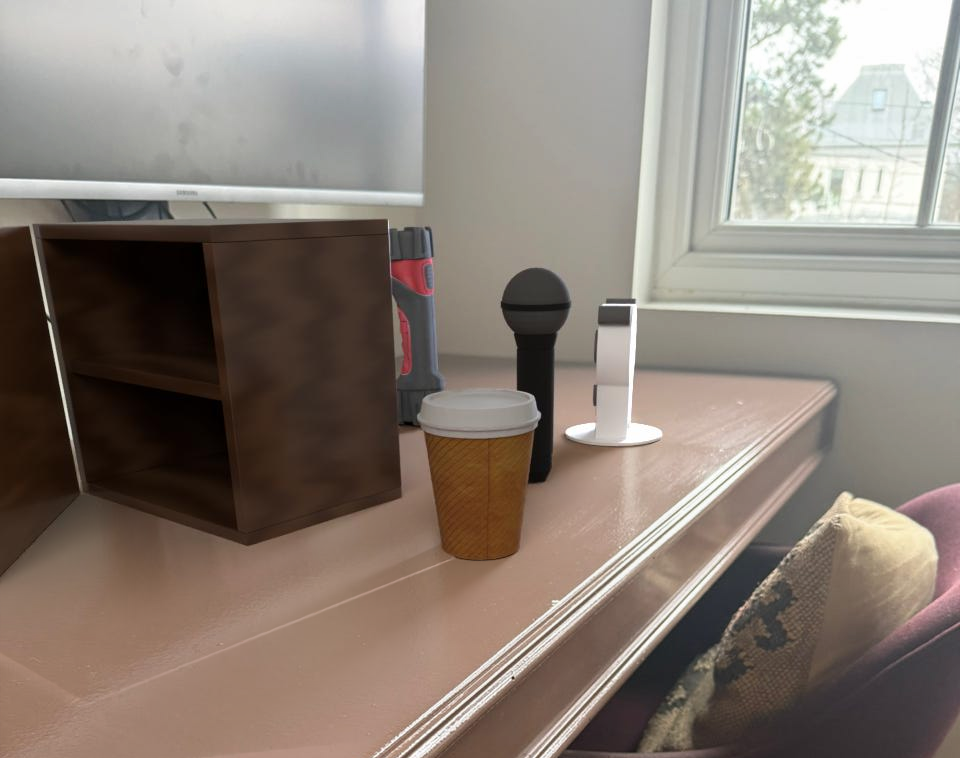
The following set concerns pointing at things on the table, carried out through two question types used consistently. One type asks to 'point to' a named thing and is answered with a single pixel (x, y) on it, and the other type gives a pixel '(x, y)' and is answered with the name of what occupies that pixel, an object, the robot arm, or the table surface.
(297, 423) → the cupboard
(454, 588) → the table surface
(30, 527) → the cupboard door
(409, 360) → the flashlight
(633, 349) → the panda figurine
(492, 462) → the disposable coffee cup
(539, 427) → the microphone
